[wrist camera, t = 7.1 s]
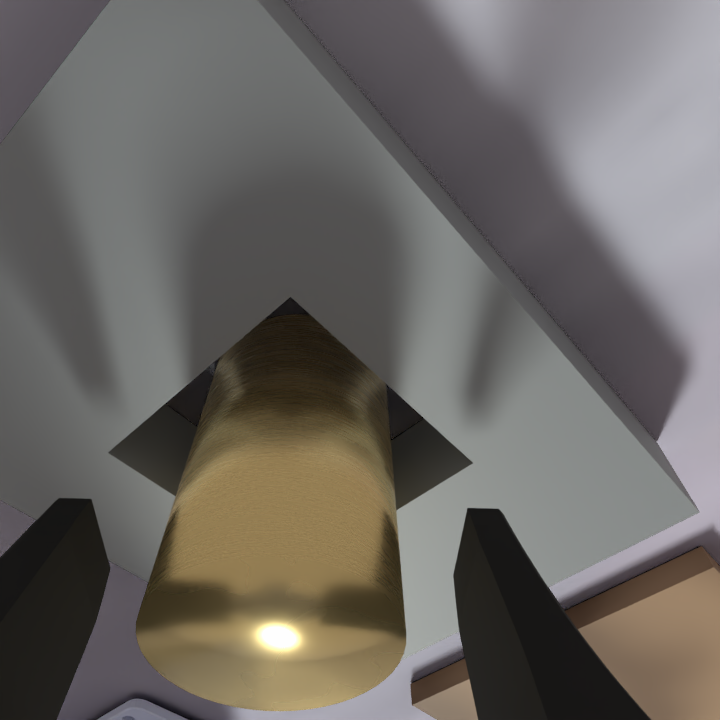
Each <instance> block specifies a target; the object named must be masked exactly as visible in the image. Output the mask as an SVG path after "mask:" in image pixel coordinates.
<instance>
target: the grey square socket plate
mask: <svg viewBox="0 0 720 720" xmlns="http://www.w3.org/2000/svg"><path fill="white" fill-rule="evenodd" d="M290 297H291V298H292V299H293V300H295V301H296V302H297V303H298V304H299V305H300V306H301V307H302V308H303V309H304V310H306V311H307V312H308V313H309V314H310V315H311V316H312V317H313V318H314V319H315V320H317V321H318V322H319V323H320V324H321V325H322V326H323V327H324V328H325V329H326V330H328V331H329V332H330V333H331V334H332V335H333V336H334V337H335V338H336V339H337V340H339V341H340V342H341V343H342V344H343V345H344V346H345V347H346V348H347V349H348V350H350V351H351V352H352V353H353V354H354V355H355V356H356V357H357V358H358V359H359V360H361V361H362V362H363V363H364V364H365V365H366V366H367V367H368V368H369V369H370V370H372V371H373V372H374V373H375V374H376V375H377V376H378V377H379V378H380V379H381V380H383V381H384V382H385V383H386V384H387V385H388V386H389V387H390V388H391V389H392V390H394V391H395V392H396V393H397V394H398V395H399V396H400V397H401V398H402V399H403V400H405V401H406V402H407V403H408V404H409V405H410V406H411V407H412V408H413V409H414V410H416V411H417V412H418V413H419V414H420V415H421V416H422V417H423V418H424V419H423V420H421V421H420V422H418V423H417V424H415V425H414V426H412V427H411V428H409V429H408V430H406V431H405V432H404V433H402V434H401V435H399V436H398V437H396V438H395V439H393V440H392V441H391V451H392V463H393V475H394V488H395V500H396V512H397V525H398V537H399V549H400V562H401V574H402V586H403V599H404V611H405V623H406V647H405V651H404V654H403V656H402V659H401V660H403V659H405V658H407V657H409V656H411V655H413V654H415V653H417V652H419V651H421V650H423V649H425V648H427V647H429V646H431V645H433V644H435V643H437V642H439V641H441V640H443V639H445V638H447V637H449V636H451V635H453V634H455V633H457V632H459V627H458V618H457V609H456V599H455V589H454V578H453V574H454V569H455V564H456V560H457V555H458V550H459V546H460V541H461V536H462V531H463V527H464V522H465V517H466V513H467V508H492V509H499V510H500V511H501V512H502V513H503V514H504V516H505V518H506V519H507V521H508V523H509V525H510V526H511V528H512V530H513V532H514V533H515V535H516V537H517V539H518V540H519V542H520V544H521V545H522V547H523V548H524V550H525V552H526V553H527V555H528V557H529V558H530V560H531V561H532V563H533V565H534V566H535V568H536V569H537V571H538V572H539V574H540V576H541V577H542V579H543V580H544V582H545V583H546V585H547V586H548V587H550V586H552V585H554V584H556V583H558V582H560V581H562V580H564V579H566V578H568V577H570V576H572V575H574V574H576V573H578V572H580V571H582V570H584V569H586V568H588V567H590V566H592V565H594V564H596V563H598V562H600V561H603V560H605V559H607V558H609V557H611V556H613V555H615V554H617V553H619V552H621V551H623V550H625V549H627V548H629V547H631V546H633V545H635V544H637V543H639V542H641V541H643V540H645V539H647V538H649V537H651V536H653V535H655V534H657V533H659V532H661V531H663V530H665V529H667V528H669V527H671V526H673V525H675V524H677V523H679V522H681V521H683V520H685V519H687V518H689V517H691V516H693V515H695V514H697V513H699V510H698V509H697V507H696V505H695V504H694V502H693V500H692V499H691V497H690V496H689V494H688V492H687V491H686V489H685V487H684V486H683V484H682V483H681V481H680V479H679V478H678V476H677V474H676V473H675V471H674V469H673V468H672V466H671V465H670V463H669V461H668V460H667V458H666V456H665V455H664V453H663V452H662V450H661V448H660V447H659V445H658V443H657V442H656V441H655V440H654V439H653V437H652V436H651V435H650V434H649V433H648V432H647V430H646V429H645V428H644V427H643V426H642V424H641V423H640V422H639V421H638V420H637V418H636V417H635V416H634V415H633V414H632V413H631V411H630V410H629V409H628V408H627V407H626V405H625V404H624V403H623V402H622V401H621V400H620V398H619V397H618V396H617V395H616V394H615V392H614V391H613V390H612V389H611V388H610V386H609V385H608V384H607V383H606V382H605V381H604V379H603V378H602V377H601V376H600V375H599V373H598V372H597V371H596V370H595V369H594V367H593V366H592V365H591V364H590V363H589V362H588V360H587V359H586V358H585V357H584V356H583V354H582V353H581V352H580V351H579V350H578V348H577V347H576V346H575V345H574V344H573V343H572V341H571V340H570V339H569V338H568V337H567V335H566V334H565V333H564V332H563V331H562V329H561V328H560V327H559V326H558V325H557V324H556V322H555V321H554V320H553V319H552V318H551V316H550V315H549V314H548V313H547V312H546V310H545V309H544V308H543V307H542V306H541V305H540V303H539V302H538V301H537V300H536V299H535V297H534V296H533V295H532V294H531V293H530V291H529V290H528V289H527V288H526V287H525V286H524V284H523V283H522V282H521V281H520V280H519V278H518V277H517V276H516V275H515V274H514V272H513V271H512V270H511V269H510V268H509V267H508V265H507V264H506V263H505V262H504V261H503V259H502V258H501V257H500V256H499V255H498V254H497V252H496V251H495V250H494V249H493V248H492V246H491V245H490V244H489V243H488V242H487V240H486V239H485V238H484V237H483V236H482V235H481V233H480V232H479V231H478V230H477V229H476V227H475V226H474V225H473V224H472V223H471V221H470V220H469V219H468V218H467V217H466V216H465V214H464V213H463V212H462V211H461V210H460V208H459V207H458V206H457V205H456V204H455V202H454V201H453V200H452V199H451V198H450V197H449V195H448V194H447V193H446V192H445V191H444V189H443V188H442V187H441V186H440V185H439V183H438V182H437V181H436V180H435V179H434V178H433V176H432V175H431V174H430V173H429V172H428V170H427V169H426V168H425V167H424V166H423V164H422V163H421V162H420V161H419V160H418V159H417V157H416V156H415V155H414V154H413V153H412V151H411V150H410V149H409V148H408V147H407V145H406V144H405V143H404V142H403V141H402V140H401V138H400V137H399V136H398V135H397V134H396V132H395V131H394V130H393V129H392V128H391V126H390V125H389V124H388V123H387V122H386V121H385V119H384V118H383V117H382V116H381V115H380V113H379V112H378V111H377V110H376V109H375V108H374V106H373V105H372V104H371V103H370V102H369V100H368V99H367V98H366V97H365V96H364V94H363V93H362V92H361V91H360V90H359V89H358V87H357V86H356V85H355V84H354V83H353V81H352V80H351V79H350V78H349V77H348V75H347V74H346V73H345V72H344V71H343V70H342V68H341V67H340V66H339V65H338V64H337V62H336V61H335V60H334V59H333V58H332V56H331V55H330V54H329V53H328V52H327V51H326V49H325V48H324V47H323V46H322V45H321V43H320V42H319V41H318V40H317V39H316V37H315V36H314V35H313V34H312V33H311V32H310V30H309V29H308V28H307V27H306V26H305V24H304V23H303V22H302V21H301V20H300V18H299V17H298V16H297V15H296V14H295V13H294V11H293V10H292V9H291V8H290V7H289V5H288V4H287V3H286V2H285V1H284V0H110V1H109V2H108V4H107V5H106V6H105V8H104V9H103V10H102V12H101V13H100V14H99V16H98V17H97V18H96V19H95V21H94V22H93V23H92V25H91V26H90V27H89V29H88V30H87V31H86V33H85V34H84V35H83V37H82V38H81V39H80V40H79V42H78V43H77V44H76V46H75V47H74V48H73V50H72V51H71V52H70V54H69V55H68V56H67V57H66V59H65V60H64V61H63V63H62V64H61V65H60V67H59V68H58V69H57V71H56V72H55V73H54V74H53V76H52V77H51V78H50V80H49V81H48V82H47V84H46V85H45V86H44V88H43V89H42V90H41V91H40V93H39V94H38V95H37V97H36V98H35V99H34V101H33V102H32V103H31V105H30V106H29V107H28V108H27V110H26V111H25V112H24V114H23V115H22V116H21V118H20V119H19V120H18V122H17V123H16V124H15V125H14V127H13V128H12V129H11V131H10V132H9V133H8V135H7V136H6V137H5V139H4V140H3V141H2V143H1V144H0V500H1V501H3V502H5V503H7V504H8V505H10V506H12V507H14V508H15V509H17V510H19V511H21V512H23V513H24V514H26V515H28V516H30V517H32V518H33V519H35V520H37V519H38V518H39V517H40V516H41V515H42V514H43V513H44V512H45V511H46V510H47V509H48V508H49V507H50V506H51V505H52V504H53V503H54V502H55V501H56V500H57V499H58V498H82V499H92V503H93V506H94V510H95V514H96V517H97V521H98V525H99V528H100V532H101V536H102V539H103V543H104V547H105V550H106V554H107V558H108V560H109V561H110V562H112V563H114V564H116V565H118V566H119V567H121V568H123V569H125V570H126V571H128V572H130V573H132V574H134V575H135V576H137V577H139V578H141V579H143V580H144V581H146V582H149V579H150V576H151V573H152V570H153V566H154V563H155V560H156V557H157V554H158V551H159V547H160V544H161V541H162V538H163V535H164V532H165V528H166V525H167V522H168V519H169V516H170V513H171V509H172V506H173V503H174V500H175V497H176V494H177V490H178V487H179V484H180V481H181V478H182V475H183V472H184V468H185V465H186V462H187V459H188V456H189V453H190V449H191V446H192V443H193V440H194V437H195V434H196V430H197V427H196V426H195V425H194V424H192V423H191V422H189V421H188V420H187V419H185V418H184V417H182V416H181V415H180V414H178V413H177V412H175V411H174V410H173V409H171V408H170V407H169V406H167V405H166V404H165V403H167V402H168V401H169V400H170V399H171V398H172V397H174V396H175V395H176V394H177V393H178V392H180V391H181V390H182V389H183V388H184V387H185V386H187V385H188V384H189V383H190V382H191V381H192V380H194V379H195V378H196V377H197V376H198V375H199V374H201V373H202V372H203V371H204V370H205V369H206V368H208V367H209V366H210V365H211V364H212V363H213V362H215V361H216V360H217V359H218V358H219V357H221V356H222V355H223V354H224V353H225V352H226V351H228V350H229V349H230V348H231V347H232V346H233V345H235V344H236V343H237V342H238V341H239V340H240V339H242V338H243V337H244V336H245V335H246V334H247V333H249V332H250V331H251V330H252V329H253V328H254V327H256V326H257V325H258V324H259V323H260V322H262V321H263V320H264V319H265V318H266V317H267V316H269V315H270V314H271V313H272V312H273V311H274V310H276V309H277V308H278V307H279V306H280V305H281V304H283V303H284V302H285V301H286V300H287V299H288V298H290Z"/></svg>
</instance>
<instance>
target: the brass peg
mask: <svg viewBox="0 0 720 720" xmlns="http://www.w3.org/2000/svg"><path fill="white" fill-rule="evenodd" d="M136 636H137V641H138V645H139V647H140V649H141V652H142V653H143V655H144V656H145V658H146V659H147V661H148V662H149V663H150V665H151V666H152V667H153V668H154V669H155V670H156V671H157V672H158V673H160V674H161V675H162V676H163V677H164V678H166V679H167V680H168V681H170V682H172V683H173V684H175V685H176V686H178V687H180V688H182V689H184V690H185V691H187V692H189V693H192V694H194V695H196V696H199V697H201V698H204V699H207V700H210V701H213V702H216V703H220V704H224V705H229V706H233V707H239V708H245V709H253V710H263V711H296V710H305V709H313V708H319V707H325V706H329V705H333V704H336V703H340V702H343V701H346V700H349V699H352V698H354V697H356V696H359V695H361V694H363V693H365V692H367V691H369V690H370V689H372V688H374V687H375V686H377V685H378V684H379V683H381V682H382V681H383V680H385V679H386V678H387V677H388V676H389V675H390V674H391V673H392V672H393V671H394V670H395V668H396V667H397V665H398V664H399V663H400V661H401V659H402V656H403V654H404V651H405V647H406V623H405V611H404V599H403V586H402V574H401V562H400V549H399V537H398V525H397V512H396V500H395V488H394V475H393V463H392V451H391V438H390V426H389V413H388V401H387V389H386V383H385V382H384V381H383V380H381V379H380V378H379V377H378V376H377V375H376V374H375V373H374V372H373V371H372V370H370V369H369V368H368V367H367V366H366V365H365V364H364V363H363V362H362V361H361V360H359V359H358V358H357V357H356V356H355V355H354V354H353V353H352V352H351V351H350V350H348V349H347V348H346V347H345V346H344V345H343V344H342V343H341V342H340V341H339V340H337V339H336V338H335V337H334V336H333V335H332V334H331V333H330V332H329V331H328V330H326V329H325V328H324V327H323V326H322V325H321V324H320V323H319V322H318V321H317V320H315V319H314V318H313V317H312V316H311V315H302V314H292V315H282V316H275V317H271V318H268V319H264V320H263V321H262V322H260V323H259V324H258V325H257V326H256V327H254V328H253V329H252V330H251V331H250V332H249V333H247V334H246V335H245V336H244V337H243V338H242V339H240V340H239V341H238V342H237V343H236V344H235V345H233V346H232V347H231V348H230V349H229V350H228V351H226V352H225V353H224V354H223V355H222V356H221V357H220V358H219V361H218V364H217V367H216V370H215V373H214V377H213V380H212V383H211V386H210V389H209V392H208V396H207V399H206V402H205V405H204V408H203V411H202V415H201V418H200V421H199V424H198V427H197V430H196V434H195V437H194V440H193V443H192V446H191V449H190V453H189V456H188V459H187V462H186V465H185V468H184V472H183V475H182V478H181V481H180V484H179V487H178V490H177V494H176V497H175V500H174V503H173V506H172V509H171V513H170V516H169V519H168V522H167V525H166V528H165V532H164V535H163V538H162V541H161V544H160V547H159V551H158V554H157V557H156V560H155V563H154V566H153V570H152V573H151V576H150V579H149V582H148V585H147V589H146V592H145V595H144V598H143V601H142V604H141V607H140V611H139V614H138V618H137V621H136Z"/></svg>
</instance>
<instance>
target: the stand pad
mask: <svg viewBox="0 0 720 720" xmlns="http://www.w3.org/2000/svg"><path fill="white" fill-rule="evenodd" d="M565 612H566V614H567V615H568V617H569V618H570V619H571V621H572V622H573V624H574V625H575V626H576V628H577V629H578V631H579V632H580V633H581V635H582V636H583V637H584V638H585V640H586V641H587V642H588V644H589V645H590V646H591V648H592V649H593V650H594V652H595V653H596V654H597V656H598V657H599V658H600V659H601V661H602V662H603V663H604V664H605V666H606V667H607V668H608V669H609V671H610V672H611V673H612V674H613V676H614V677H615V678H616V679H617V681H618V682H619V683H620V684H621V685H622V686H623V688H624V689H625V690H626V691H627V692H628V693H629V695H630V696H631V697H632V698H633V699H634V700H635V702H636V703H637V704H638V705H639V706H640V707H641V709H642V710H643V711H644V712H645V713H646V714H647V715H648V716H649V717H650V719H651V720H720V566H719V565H718V564H717V563H716V561H715V560H714V559H713V558H712V557H711V556H710V555H709V554H708V553H707V552H706V550H705V549H704V548H703V547H702V546H701V547H699V548H696V549H694V550H692V551H690V552H688V553H686V554H684V555H682V556H680V557H677V558H675V559H673V560H671V561H669V562H667V563H665V564H663V565H661V566H658V567H656V568H654V569H652V570H650V571H648V572H646V573H644V574H642V575H639V576H637V577H635V578H633V579H631V580H629V581H627V582H625V583H623V584H620V585H618V586H616V587H614V588H612V589H610V590H608V591H606V592H604V593H601V594H599V595H597V596H595V597H593V598H591V599H589V600H587V601H585V602H582V603H580V604H578V605H576V606H574V607H572V608H570V609H568V610H566V611H565ZM411 697H412V705H413V706H415V707H416V708H418V709H420V710H421V711H423V712H425V713H427V714H428V715H430V716H432V717H433V718H435V719H437V720H478V717H477V712H476V707H475V703H474V698H473V693H472V689H471V684H470V679H469V675H468V670H467V665H466V661H465V658H464V659H462V660H460V661H458V662H456V663H454V664H452V665H450V666H447V667H445V668H443V669H441V670H439V671H437V672H435V673H433V674H431V675H428V676H426V677H424V678H422V679H420V680H418V681H416V682H414V683H412V684H411Z"/></svg>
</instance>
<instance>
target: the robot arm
mask: <svg viewBox="0 0 720 720" xmlns="http://www.w3.org/2000/svg"><path fill="white" fill-rule="evenodd" d="M109 572H110V565H109V561H108V558H107V554H106V550H105V547H104V543H103V539H102V536H101V532H100V528H99V525H98V521H97V517H96V514H95V510H94V506H93V503H92V499H82V498H58V499H57V500H56V501H55V502H54V503H53V504H52V505H51V506H50V507H49V508H48V509H47V510H46V511H45V512H44V513H43V514H42V515H41V516H40V517H39V518H38V519H37V520H36V521H35V522H34V523H33V524H32V525H31V526H30V527H29V528H28V530H27V531H26V532H25V533H24V534H23V535H22V536H21V537H20V538H19V539H18V540H17V541H16V542H15V543H14V544H13V545H12V546H11V547H10V548H9V549H8V550H7V551H6V552H5V553H4V554H3V555H2V556H1V557H0V720H56V719H57V717H58V714H59V712H60V709H61V707H62V705H63V702H64V700H65V697H66V695H67V692H68V690H69V687H70V685H71V683H72V680H73V678H74V675H75V673H76V670H77V668H78V665H79V663H80V660H81V658H82V655H83V653H84V650H85V648H86V645H87V643H88V640H89V638H90V635H91V633H92V630H93V628H94V625H95V622H96V619H97V616H98V612H99V609H100V605H101V602H102V598H103V595H104V591H105V587H106V583H107V579H108V576H109ZM453 578H454V589H455V599H456V609H457V618H458V627H459V632H460V637H461V642H462V646H463V651H464V656H465V661H466V665H467V670H468V675H469V679H470V684H471V689H472V693H473V698H474V703H475V707H476V712H477V717H478V720H651V719H650V717H649V716H648V715H647V714H646V713H645V712H644V711H643V710H642V709H641V707H640V706H639V705H638V704H637V703H636V702H635V700H634V699H633V698H632V697H631V696H630V695H629V693H628V692H627V691H626V690H625V689H624V688H623V686H622V685H621V684H620V683H619V682H618V681H617V679H616V678H615V677H614V676H613V674H612V673H611V672H610V671H609V669H608V668H607V667H606V666H605V664H604V663H603V662H602V661H601V659H600V658H599V657H598V656H597V654H596V653H595V652H594V650H593V649H592V648H591V646H590V645H589V644H588V642H587V641H586V640H585V638H584V637H583V636H582V635H581V633H580V632H579V631H578V629H577V628H576V626H575V625H574V624H573V622H572V621H571V619H570V618H569V617H568V615H567V614H566V612H565V611H564V610H563V608H562V607H561V605H560V604H559V602H558V601H557V599H556V598H555V596H554V595H553V593H552V592H551V591H550V589H549V588H548V586H547V585H546V583H545V582H544V580H543V579H542V577H541V576H540V574H539V572H538V571H537V569H536V568H535V566H534V565H533V563H532V561H531V560H530V558H529V557H528V555H527V553H526V552H525V550H524V548H523V547H522V545H521V544H520V542H519V540H518V539H517V537H516V535H515V533H514V532H513V530H512V528H511V526H510V525H509V523H508V521H507V519H506V518H505V516H504V514H503V513H502V512H501V511H500V510H499V509H492V508H467V513H466V517H465V522H464V527H463V531H462V536H461V541H460V546H459V550H458V555H457V560H456V564H455V569H454V574H453ZM97 720H188V719H186V718H184V717H181V716H179V715H177V714H175V713H173V712H171V711H168V710H166V709H164V708H162V707H160V706H157V705H155V704H153V703H151V702H149V701H147V700H144V699H138V698H137V699H131V700H129V701H127V702H126V703H124V704H122V705H121V706H119V707H117V708H115V709H114V710H112V711H110V712H109V713H107V714H105V715H104V716H102V717H100V718H99V719H97Z"/></svg>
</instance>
